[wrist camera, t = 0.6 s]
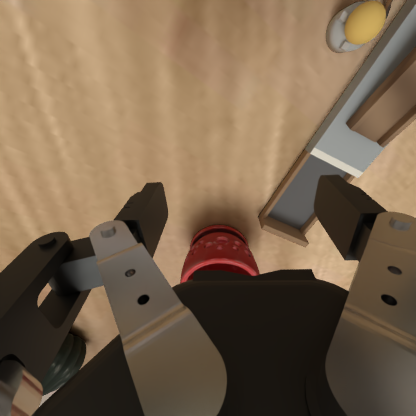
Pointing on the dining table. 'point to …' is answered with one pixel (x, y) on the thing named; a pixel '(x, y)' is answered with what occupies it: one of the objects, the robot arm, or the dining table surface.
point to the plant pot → (219, 253)
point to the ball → (365, 22)
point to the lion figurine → (388, 6)
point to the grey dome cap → (341, 31)
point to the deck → (364, 98)
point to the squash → (64, 363)
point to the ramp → (389, 105)
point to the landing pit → (297, 199)
